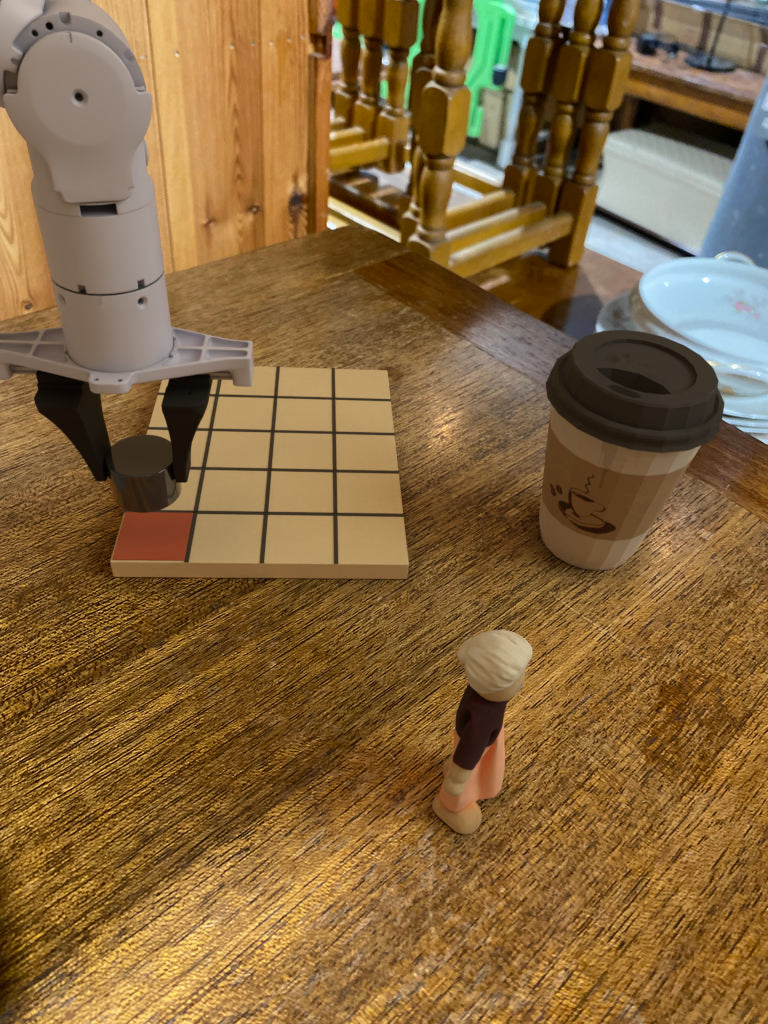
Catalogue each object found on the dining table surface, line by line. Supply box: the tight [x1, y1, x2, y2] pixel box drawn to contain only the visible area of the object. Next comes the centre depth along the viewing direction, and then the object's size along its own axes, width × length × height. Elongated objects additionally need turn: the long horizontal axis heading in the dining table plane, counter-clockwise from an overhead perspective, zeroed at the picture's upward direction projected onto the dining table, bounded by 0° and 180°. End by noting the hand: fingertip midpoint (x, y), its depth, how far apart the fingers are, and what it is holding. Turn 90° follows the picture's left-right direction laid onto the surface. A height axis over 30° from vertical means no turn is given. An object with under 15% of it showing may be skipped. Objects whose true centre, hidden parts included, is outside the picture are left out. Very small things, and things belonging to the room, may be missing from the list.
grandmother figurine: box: [431, 629, 534, 836], centre depth 39 cm, size 8×4×13 cm, turn 171°
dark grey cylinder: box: [105, 434, 182, 513], centre depth 50 cm, size 4×4×3 cm
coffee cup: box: [538, 329, 725, 571], centre depth 54 cm, size 11×11×15 cm
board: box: [109, 365, 410, 580], centre depth 62 cm, size 20×25×2 cm
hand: (143, 472), depth 50 cm, fingers closed on dark grey cylinder, 4 cm apart
